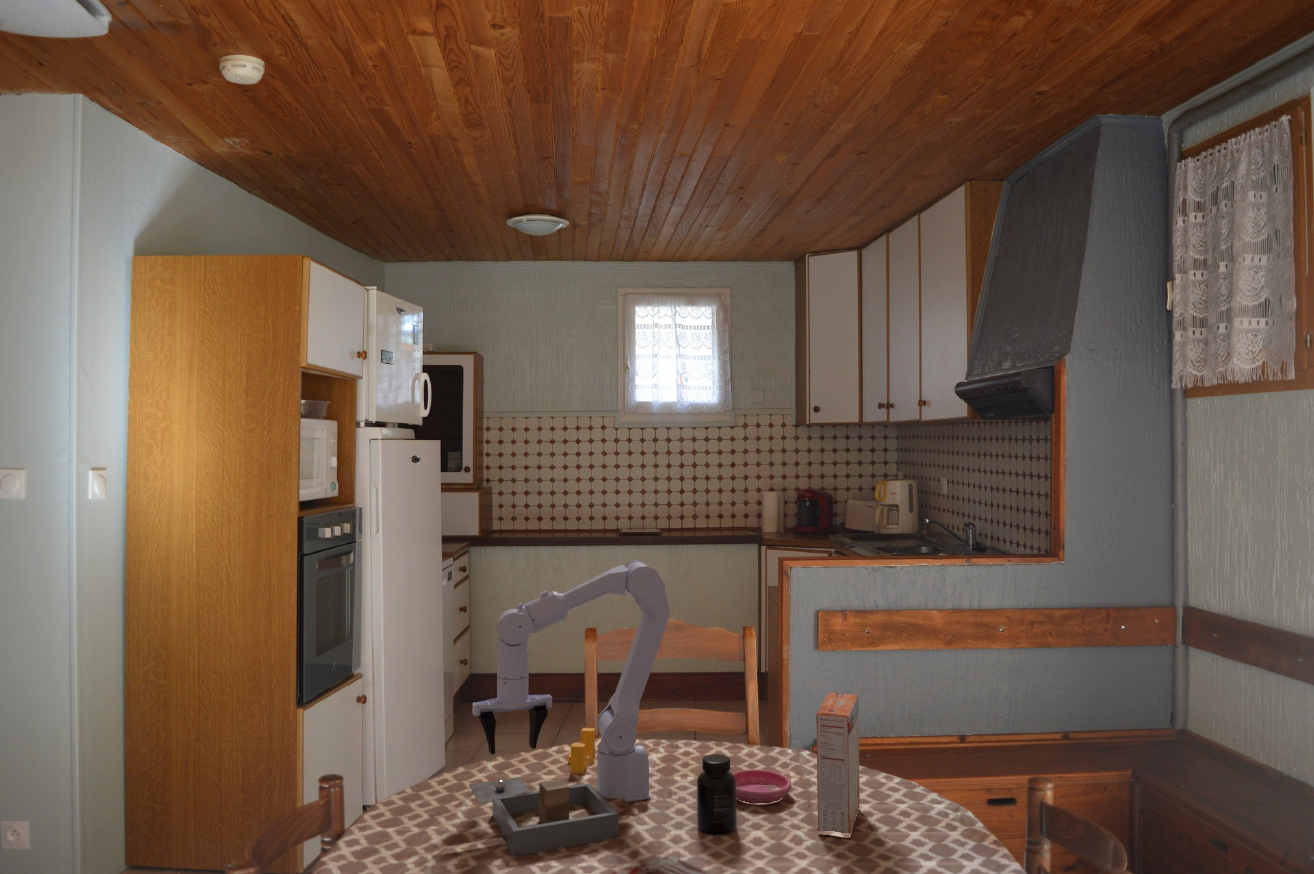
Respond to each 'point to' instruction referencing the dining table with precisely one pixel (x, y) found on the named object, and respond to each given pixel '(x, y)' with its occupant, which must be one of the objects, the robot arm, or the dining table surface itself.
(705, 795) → the supplement bottle
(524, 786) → the stud plate
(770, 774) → the saucer
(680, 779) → the dining table surface
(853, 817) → the cracker box
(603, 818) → the bin
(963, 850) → the dining table surface
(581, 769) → the yellow u-shaped block
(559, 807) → the small brown box
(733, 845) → the dining table surface
